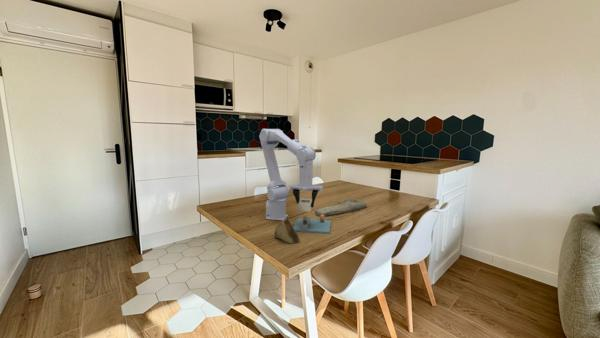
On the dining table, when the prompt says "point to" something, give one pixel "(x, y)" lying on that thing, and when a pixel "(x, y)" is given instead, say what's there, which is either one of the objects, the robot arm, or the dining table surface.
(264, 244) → the dining table surface
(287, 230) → the rock
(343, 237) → the dining table surface
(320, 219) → the copper cylinder peg
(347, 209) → the long grey stone
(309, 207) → the silver block with hole
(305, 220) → the metal knob block
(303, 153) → the robot arm
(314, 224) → the board
